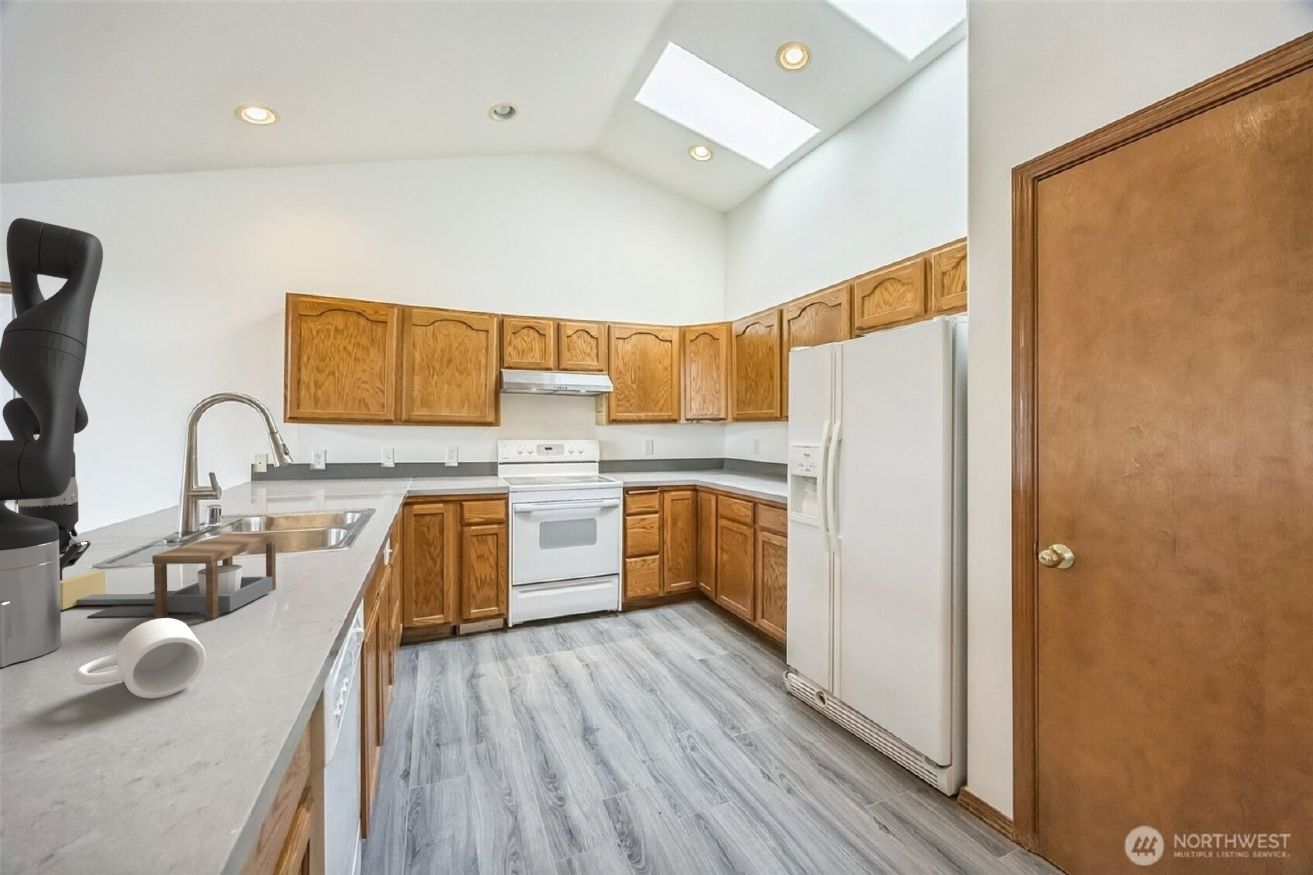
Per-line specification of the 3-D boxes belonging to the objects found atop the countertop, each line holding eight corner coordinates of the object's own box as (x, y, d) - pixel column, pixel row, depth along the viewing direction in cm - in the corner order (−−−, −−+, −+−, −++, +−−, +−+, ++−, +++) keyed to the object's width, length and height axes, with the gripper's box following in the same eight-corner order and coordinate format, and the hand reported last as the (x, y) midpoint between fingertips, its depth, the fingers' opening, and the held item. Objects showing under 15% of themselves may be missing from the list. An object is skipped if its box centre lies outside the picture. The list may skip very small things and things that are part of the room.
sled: (230, 611, 97) (229, 585, 97) (39, 613, 95) (39, 586, 95) (272, 590, 109) (272, 567, 109) (104, 591, 107) (104, 567, 107)
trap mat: (157, 617, 96) (157, 615, 96) (87, 617, 95) (87, 616, 95) (215, 591, 110) (215, 590, 110) (155, 592, 109) (155, 590, 109)
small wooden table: (211, 620, 94) (211, 555, 94) (153, 621, 94) (152, 555, 93) (276, 588, 112) (276, 533, 112) (228, 588, 112) (227, 533, 111)
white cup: (251, 598, 106) (251, 564, 106) (220, 610, 99) (219, 574, 99) (221, 596, 107) (220, 563, 107) (187, 608, 100) (187, 572, 100)
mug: (192, 663, 79) (191, 611, 78) (206, 685, 72) (205, 629, 72) (73, 694, 69) (71, 636, 69) (77, 723, 63) (76, 658, 63)
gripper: (-13, 504, 96) (-10, 597, 96) (65, 504, 97) (67, 596, 97) (33, 498, 103) (35, 584, 104) (105, 498, 104) (106, 583, 105)
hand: (51, 589), depth 100 cm, fingers closed
